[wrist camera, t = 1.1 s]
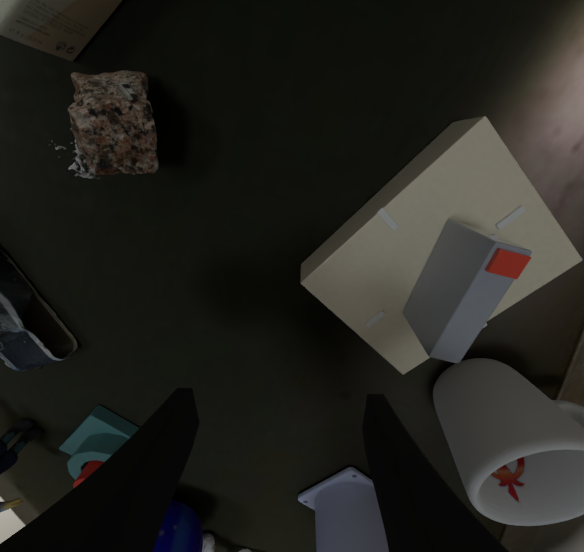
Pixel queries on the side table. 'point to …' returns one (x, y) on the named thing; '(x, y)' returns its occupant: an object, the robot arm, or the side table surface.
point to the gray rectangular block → (461, 288)
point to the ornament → (180, 530)
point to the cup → (512, 443)
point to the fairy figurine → (212, 544)
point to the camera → (28, 324)
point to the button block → (96, 439)
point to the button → (87, 471)
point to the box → (54, 23)
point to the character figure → (15, 451)
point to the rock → (113, 124)
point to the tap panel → (432, 236)
